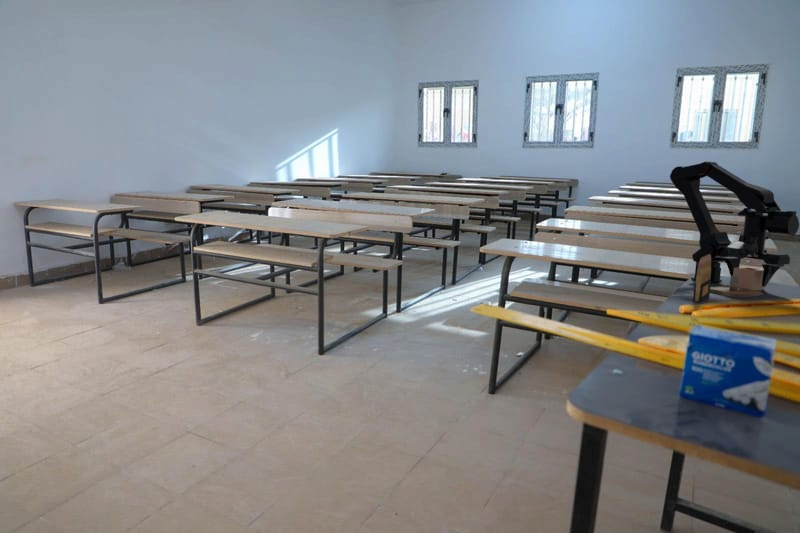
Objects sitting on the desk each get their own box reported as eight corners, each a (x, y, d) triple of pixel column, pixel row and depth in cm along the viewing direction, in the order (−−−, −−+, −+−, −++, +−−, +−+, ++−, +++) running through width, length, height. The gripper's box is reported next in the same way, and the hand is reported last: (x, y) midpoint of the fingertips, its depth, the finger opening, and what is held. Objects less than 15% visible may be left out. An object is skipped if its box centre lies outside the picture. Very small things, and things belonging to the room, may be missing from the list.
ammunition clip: (700, 302, 145) (705, 258, 143) (692, 301, 146) (697, 257, 144) (709, 296, 153) (714, 253, 151) (702, 295, 154) (706, 253, 152)
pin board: (705, 291, 160) (706, 274, 159) (728, 288, 164) (730, 272, 163) (737, 298, 151) (740, 280, 150) (761, 295, 155) (763, 278, 154)
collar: (731, 287, 166) (733, 267, 165) (744, 285, 168) (747, 266, 167) (751, 291, 160) (753, 271, 159) (764, 289, 163) (766, 269, 162)
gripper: (707, 229, 167) (701, 279, 169) (769, 236, 150) (762, 292, 152) (731, 228, 171) (725, 277, 174) (794, 235, 154) (787, 289, 157)
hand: (748, 283), depth 164 cm, fingers open, 9 cm apart
